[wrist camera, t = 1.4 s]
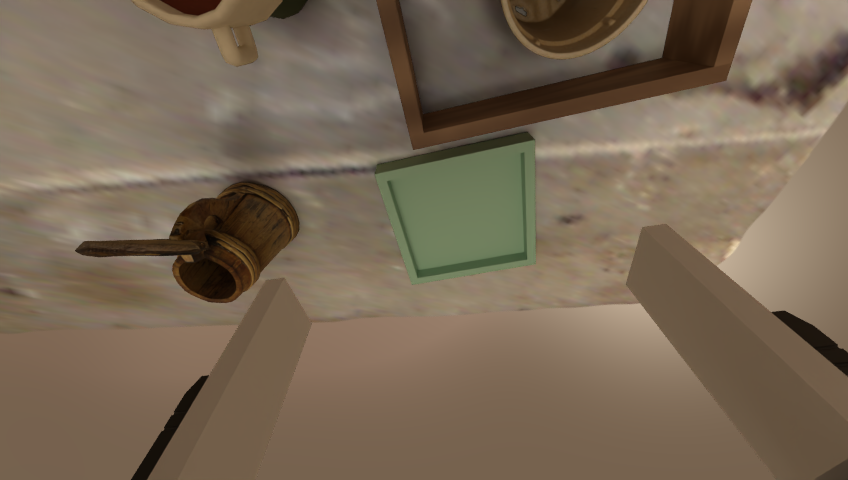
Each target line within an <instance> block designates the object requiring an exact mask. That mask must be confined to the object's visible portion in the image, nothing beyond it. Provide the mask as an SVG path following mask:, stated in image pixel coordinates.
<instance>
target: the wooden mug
mask: <svg viewBox="0 0 848 480" xmlns="http://www.w3.org/2000/svg"><path fill="white" fill-rule="evenodd" d="M298 231H299V221H298V217H297V214H296V212H295V210H294V209H293V207H292V206H291V204H290V203H289V202H288V200H287V199H286V198H285V197H283V196H282V195H281V194H279V193H278V192H277V191H275V190H273V189H270V188H268V187H266V186H262V185H257V184H251V183H237V184H234V185H232V186H230V187H228V188H227V189H225V190H224V191H223V192H222V193H221V194H220V195H219V196H218V197H217V198H205V199H200V200H198V201H196V202H194V203H192V204H190V205H189V206H188V207H187V208H186V209H185V210H184V211H182V212H181V213H180V215H179V217H178V218H177V220H176V222H175V224H174V226H173V228H172V231H171V234H170V236H169V239H154V240H117V241H84V242H83V243H82V244H81V245H80V246H79V247H78V248H77V249H76V250H75V251H76V252H77V253H79V254H81V255H86V256H94V257H111V256H174V255H178V256H177V259H176V260H175V262H174V264H173V268H172V271H173V275H174V277H175V279H176V281H177V282H178V284H179V285H180V286H181V287H182V288H183V289H184V290H185V291H186V292H188V293H190V294H191V295H193V296H195V297H198V298H200V299H202V300H205V301H208V302H216V303H227V302H232V301H234V300H235V299H237V298H238V297H239V296H240V295H241V293H242V292H245V291H247V290H248V289H249V288H250V287H251V286H252V285H253V284H254V283H255V282H256V281H257V280H258V278H259V276H260V273H261V271H262V270H263V269H264V268H265V267H266V266H267V265H268V264H269V263H270V261H271V260H272V259H273V258H274V257H275V256H276V255H277V254H278V253H279V252H280V251H281V249H283V248H285V247H286V246H287V245H288V244H289V243H290V242H291V241H292V240H293V239H294V238H295V237H296V235H297V233H298Z"/></svg>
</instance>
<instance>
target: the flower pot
mask: <svg viewBox="0 0 848 480" xmlns="http://www.w3.org/2000/svg"><path fill="white" fill-rule="evenodd" d="M500 1H501V5H502V8H503V12H504V15H505V18H506V20H507V23H508V25H509V27H510V28H511V30H512V32H513V33H514V35H515V36H516V38H517V39H518V40H519V41H520V42H521V43H522V44H523V45H524V46H525V47H526V48H528V49H529V50H531V51H532V52H534V53H536V54H538V55H541V56H544V57H547V58H552V59H570V58H576V57H580V56H583V55H586V54H589V53H591V52H593V51H595V50H597V49H599V48H600V47H602V46H604V45H606V44H607V43H609V42H610V41H611V40H613V39H614V38H615V37H616V36H618V35H619V34H620V33H621V32H622V31H623V30H624V29H625V28H627V26H628V25H629V24H630V23H631V22H632V21H633V20H634V19H635V18H636V17H637V15H638V14H639V13H640V11H641V10H642V9H643V7H644V6H645V4H646V3H647V1H648V0H559V1H558V0H500ZM516 6H517V7H519V8H522V7H523V10H524V11H525V12H527V14H526V16H525V15H522V14H520V13H519V12H517V11H516Z"/></svg>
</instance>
